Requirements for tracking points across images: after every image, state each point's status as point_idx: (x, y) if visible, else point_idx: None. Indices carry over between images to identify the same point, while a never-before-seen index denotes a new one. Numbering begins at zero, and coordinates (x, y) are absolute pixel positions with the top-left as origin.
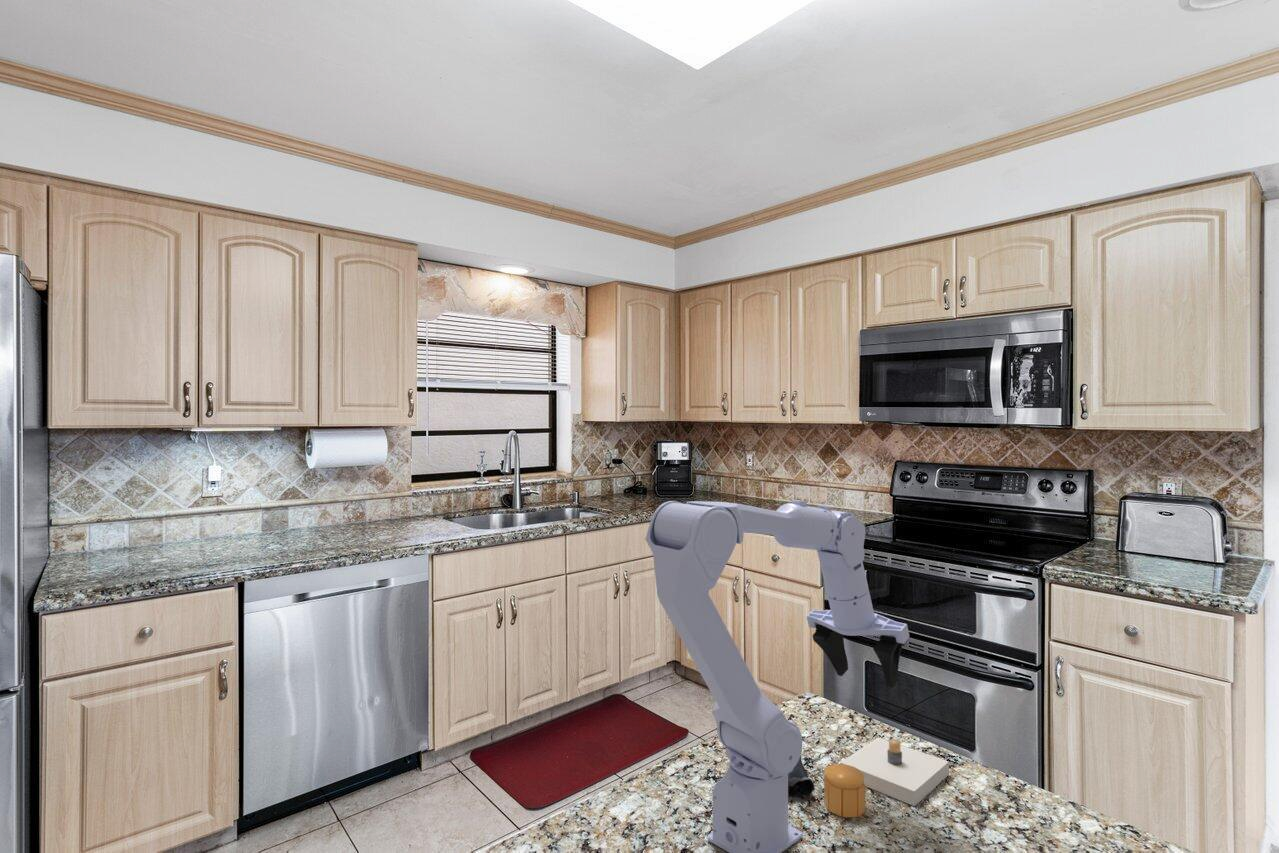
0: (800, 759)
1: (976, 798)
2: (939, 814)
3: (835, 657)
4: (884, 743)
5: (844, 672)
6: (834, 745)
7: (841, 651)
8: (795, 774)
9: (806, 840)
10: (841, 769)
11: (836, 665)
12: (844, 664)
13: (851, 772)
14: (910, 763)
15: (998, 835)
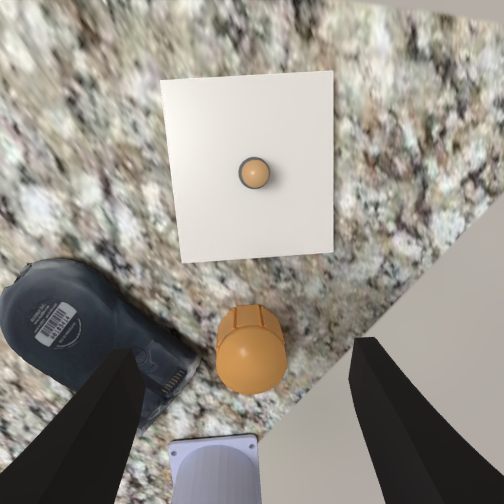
0: (119, 302)
1: (394, 129)
2: (364, 235)
3: (110, 495)
4: (189, 102)
5: (139, 375)
6: (92, 149)
7: (91, 459)
8: (165, 372)
9: (261, 433)
10: (240, 356)
11: (126, 454)
12: (125, 393)
13: (259, 351)
14: (279, 152)
15: (452, 221)
